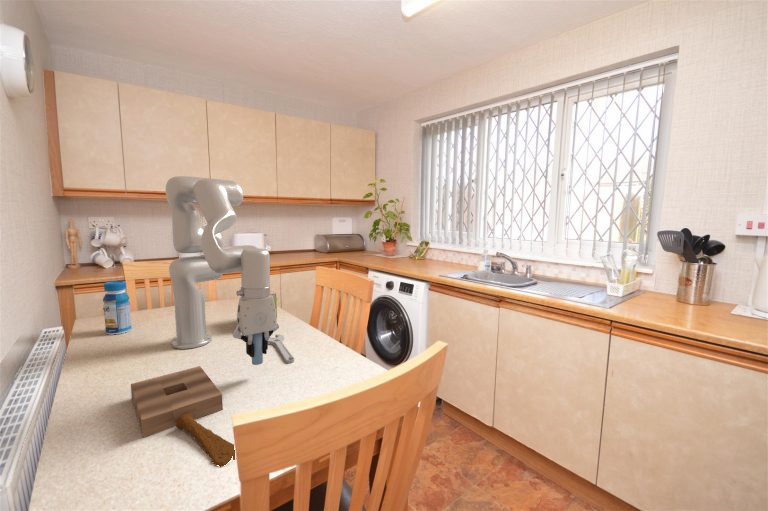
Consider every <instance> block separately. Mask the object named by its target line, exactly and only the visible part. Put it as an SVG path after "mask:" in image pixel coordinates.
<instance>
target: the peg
mask: <svg viewBox="0 0 768 511" xmlns="http://www.w3.org/2000/svg"><path fill="white" fill-rule="evenodd" d="M252 343H253V344H254V357H253V358H251V364H252V365H253V366H260V365H262V364H263V362H264V357H263V356H264V354H263V340H262V333H258V334H253V336H252Z"/></svg>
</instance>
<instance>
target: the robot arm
mask: <svg viewBox="0 0 768 511" xmlns="http://www.w3.org/2000/svg"><path fill="white" fill-rule="evenodd" d="M243 192H244V191H243V190H242V187H241V185H240V184H239V183H237V182H236V181H234V180H228V179H221V178H220V179H217V178H207V177H199V176H198V177H197V176H187V175H184V176H183V175H178V176H173V177H170V178H168V180H167V182H166V184H165V196H166V198H165V199H166V201H167V203H168V206H169V208H170V211H171V212H170V213H171V223H172V225H171V227H172V229H171V230H172V242H173V248H174V250H175V251H176V252H177V253H179V254H198V253H199V254H200V253H203V255H193V256H185V257H184V256H183V257H179V258H175V259H174V260H172V261H171V262H170V263H169V267H168V272H169V277H170V280H171V284H172V291H173V300H174V302H173V303H174V315H175V316H174V318H175V333H176V334H175V335H176V338H175V339H173V340H172V342H171V345H172V347H173V348H174V349H177V350H178V349H179V350H181V349H182V350H183V349H185V350H187V349H195V348H199V347H202V346H205V345H208V344H209V343H210V342H211V341H212V336H211V335H210V334H208V333H207V320H206V303H205V302H206V300H205V299H206V298H205V292H204V291H203V290H202V289H201V288H200V287H199V286H198V285H197V284H198V283H203V282H209V281H215V280H219V279H220V278H222V276H223V275H224V274H230V273H231V274H232V273H238V272H240V273H241V275H240V277H241V278H240V279H241V282H240V283H241V284H240V285H241V287H240V289H239V290H236V291H235V292H236V294H235V295H236V296H237V297H238V296H240V297H239V300H238V303H237V311H236V312H237V313H236V326H235V329H234V331H233V333H232V337H233V338H235V339H236V340H237V339H238V340H241V341H242V342H244V343H245V347H246V348H245V349H246V350H245V352H246V355H248V356H249V357H250V358H251V359H252V358H253V357H254V344H253V343H252V336H253V334H258V333H262V340H263V355H267V353H268V351H267V350H269V346H268V345H269V344H268V340H269V337H271V336H272V335H273V333H274V332H276V331H277V330H279V329H280V325H279V323H278V317H277V318H276V308H275V302H274V298H273V296H272V295H270V291H271V272H270V271H271V270H270V264H271V263H270V262H271V261H270V260H271V257H270V252H269V250H268V249H265V248H259V247H256V246H255V245H249V244H248V245H246V244H245V245H231V246H230V245H229V246H224V238H223V235H222V232H224V231H226V230H228V229H230V228H231V227H233V226H234V225H235V224H236V222H237V221H238V220H237V218H238V217H237V213H236V211H235V210H234V208H233V207H239V206H240V205H241V204H242V203H243V200H244V193H243ZM194 203H197V204H198V206H199V208H200V211H201V212H202V215H203V217H204V220H205V221H206V223H207V224H206V226H205V225H201V213H200V211H199V210H198V209H197V207H196V205H194ZM241 296H242V297H241Z"/></svg>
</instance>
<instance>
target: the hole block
mask: <svg viewBox="0 0 768 511" xmlns="http://www.w3.org/2000/svg"><path fill="white" fill-rule="evenodd" d="M130 390H131V391H130V393H131V401H132V403H133V407H134V411H135V414H136V418H137V421H138V425H139V427H140V431H141V435H142V438H146V437H148V436H151V435H152V436H153V435H155V434H157V433H160V432H162V431H165V430H169V429H171V428H174V427H176V424H177V421H178V419H179V418H180V417H181V416H182V415H183V414H187V413H189V414H192V416H193V419H194V420H198V419H199V418H203V417H206V416H209V415H211V414H214V413H217V412H220V411H223V410H224V408H223V407H224V406H223V393H222V392H221V391H220V389H219V388H218V387H217V386H216V384H215V383H214V382H213V381H212V379H211V378H210V376H208V374H207V373H206V372H205V370H204V369H203V368H202V366H200V365H198V366H194V367H191V368H187V369H184V370H180V371H176V372H172V373H171V372H170V373H168V374H164V375H161V376H155V377H153V378H149V379H145V380H142V381H138V382H134V383H133V382H132V383H130Z"/></svg>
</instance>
